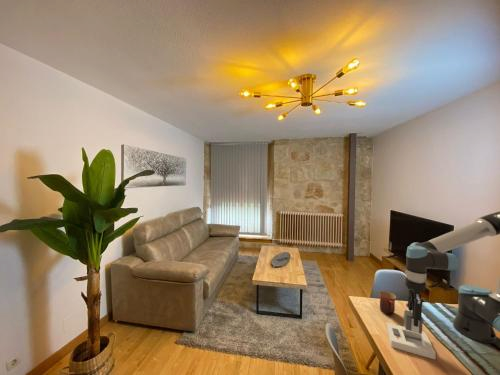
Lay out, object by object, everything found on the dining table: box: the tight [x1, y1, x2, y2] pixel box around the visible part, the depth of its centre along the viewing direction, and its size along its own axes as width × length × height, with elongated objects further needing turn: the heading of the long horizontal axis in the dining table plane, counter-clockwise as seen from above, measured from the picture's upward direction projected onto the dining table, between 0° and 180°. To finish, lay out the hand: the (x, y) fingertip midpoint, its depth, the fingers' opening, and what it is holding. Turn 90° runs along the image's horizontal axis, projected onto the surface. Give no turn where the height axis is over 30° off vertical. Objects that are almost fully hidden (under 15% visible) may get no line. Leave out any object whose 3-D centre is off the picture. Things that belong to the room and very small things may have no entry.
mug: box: [378, 290, 397, 316], centre depth 122 cm, size 12×9×10 cm
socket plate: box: [385, 321, 437, 360], centre depth 100 cm, size 16×14×4 cm
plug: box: [403, 309, 424, 334], centre depth 99 cm, size 6×4×8 cm
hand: (413, 328), depth 99 cm, fingers closed on plug, 4 cm apart
